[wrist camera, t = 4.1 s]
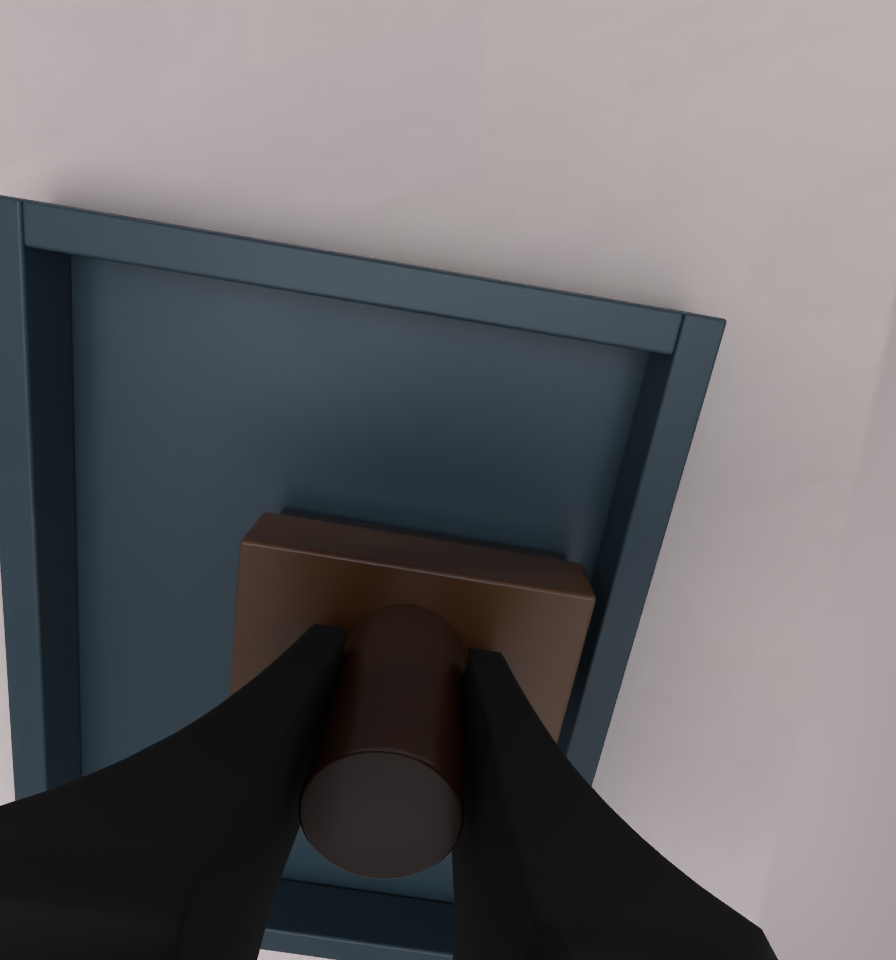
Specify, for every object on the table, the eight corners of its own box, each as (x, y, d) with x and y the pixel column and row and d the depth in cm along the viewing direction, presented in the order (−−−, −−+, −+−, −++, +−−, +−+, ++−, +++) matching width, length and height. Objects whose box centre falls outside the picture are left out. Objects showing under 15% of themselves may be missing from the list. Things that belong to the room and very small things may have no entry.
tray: (690, 312, 14) (728, 319, 12) (526, 914, 19) (533, 988, 17) (48, 202, 13) (-25, 191, 11) (68, 848, 19) (21, 917, 17)
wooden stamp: (577, 547, 15) (656, 741, 9) (540, 691, 16) (587, 951, 10) (274, 497, 15) (138, 661, 8) (261, 648, 16) (134, 885, 10)
